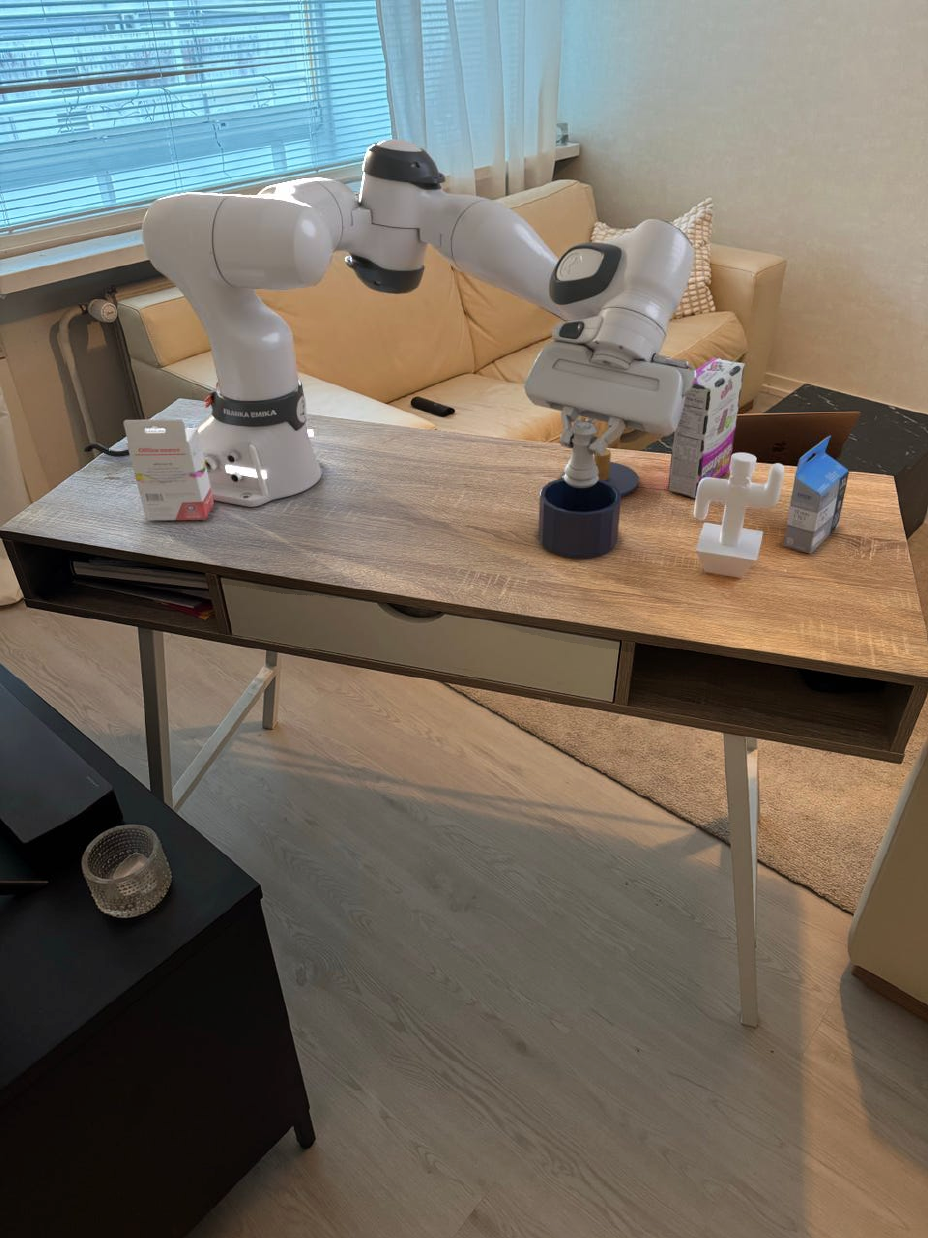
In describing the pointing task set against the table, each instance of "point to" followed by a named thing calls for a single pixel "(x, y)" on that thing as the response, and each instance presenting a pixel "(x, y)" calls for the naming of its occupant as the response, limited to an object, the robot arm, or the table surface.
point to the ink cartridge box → (169, 469)
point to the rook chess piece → (582, 456)
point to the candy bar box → (706, 427)
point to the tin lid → (616, 474)
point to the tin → (579, 519)
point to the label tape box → (815, 499)
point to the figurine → (734, 516)
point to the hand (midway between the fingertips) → (580, 449)
